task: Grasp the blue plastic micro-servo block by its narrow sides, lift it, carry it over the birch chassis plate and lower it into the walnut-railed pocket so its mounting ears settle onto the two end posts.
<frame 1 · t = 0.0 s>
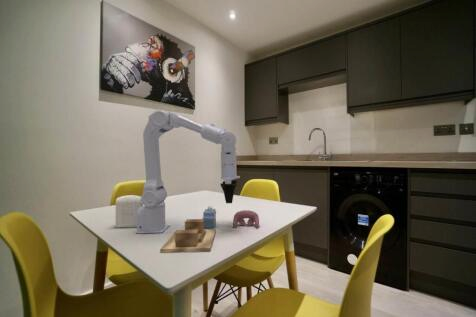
hand: (229, 201, 81), 10 cm above the table, fingers open, 7 cm apart
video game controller: (246, 226, 82), on the table
servo: (210, 226, 84), on the table
photo printer: (130, 226, 85), on the table
chassis: (191, 241, 69), on the table
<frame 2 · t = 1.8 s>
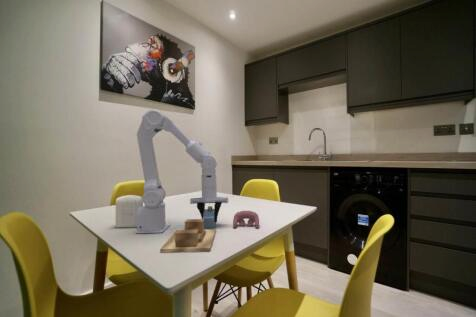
hand: (209, 221, 84), 2 cm above the table, fingers closed on servo, 4 cm apart
servo: (210, 226, 84), on the table, touching gripper
everything else where it was.
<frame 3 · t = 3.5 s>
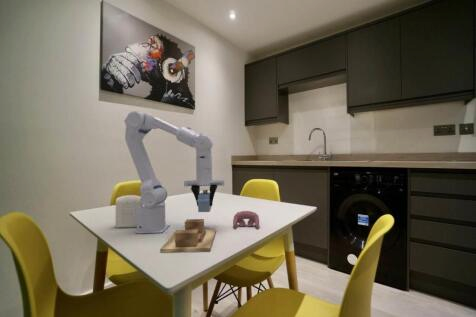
hand: (204, 205, 79), 9 cm above the table, fingers closed on servo, 4 cm apart
servo: (205, 210, 79), point 7 cm above the table, touching gripper
everything else where it was.
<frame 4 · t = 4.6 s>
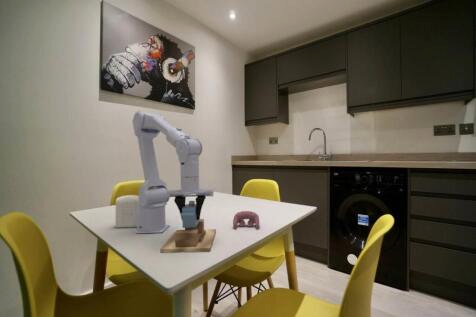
hand: (190, 219, 68), 7 cm above the table, fingers closed on servo, 4 cm apart
servo: (191, 224, 69), point 5 cm above the table, touching gripper
when the fingers open (4 cm above the table, at t = 5.5 s): servo drops 1 cm, resting on chassis.
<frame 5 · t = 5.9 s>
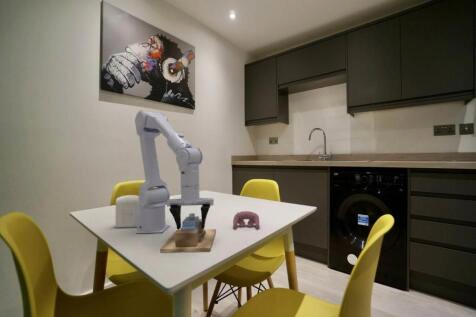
hand: (191, 228, 69), 4 cm above the table, fingers open, 7 cm apart
servo: (191, 237, 69), point 1 cm above the table, touching chassis
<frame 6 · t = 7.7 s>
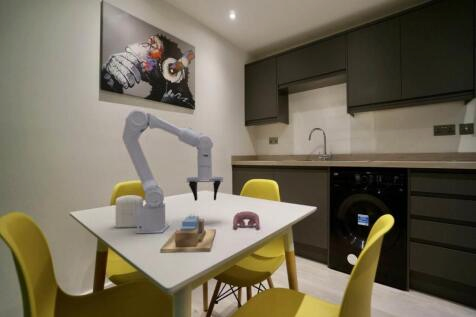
hand: (205, 200, 87), 9 cm above the table, fingers open, 7 cm apart
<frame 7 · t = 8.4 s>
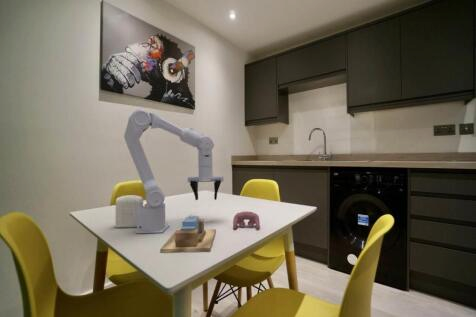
hand: (206, 199, 89), 9 cm above the table, fingers open, 7 cm apart
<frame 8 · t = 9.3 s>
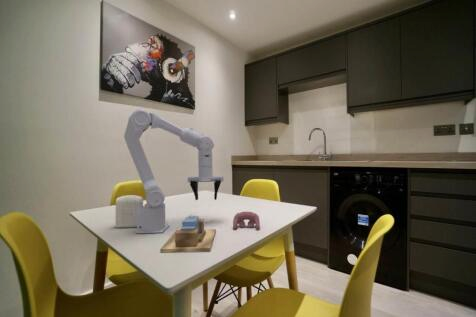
hand: (206, 199, 89), 9 cm above the table, fingers open, 7 cm apart
at the end: servo 0.2 cm off-centre on the chassis, point 1.0 cm above the chassis's base; servo tilted 0°; the gripper is holding nothing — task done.
